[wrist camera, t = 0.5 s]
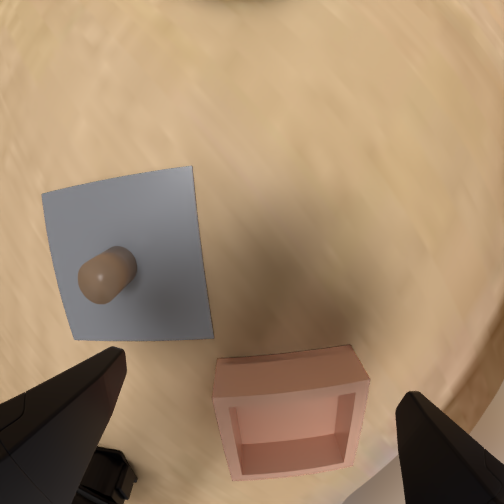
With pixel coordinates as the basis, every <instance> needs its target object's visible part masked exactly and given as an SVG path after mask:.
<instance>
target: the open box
mask: <svg viewBox="0 0 504 504" xmlns="http://www.w3.org/2000/svg"><path fill="white" fill-rule="evenodd" d="M369 385H370V378H369V376H368V374H367V372H366V371H365V369H364V367H363V365H362V364H361V362H360V360H359V359H358V357H357V355H356V354H355V352H354V350H353V348H352V347H351V345H344V346H338V347H331V348H324V349H317V350H309V351H301V352H292V353H283V354H273V355H262V356H251V357H237V358H220V359H217V365H216V372H215V379H214V386H213V394H212V400H213V405H214V409H215V414H216V418H217V423H218V427H219V431H220V435H221V440H222V444H223V448H224V452H225V456H226V460H227V463H228V467H229V471H230V475H231V479H232V481H245V480H262V479H275V478H284V477H293V476H301V475H308V474H314V473H321V472H326V471H332V470H337V469H342V468H347V467H351V466H353V463H354V459H355V455H356V451H357V447H358V442H359V438H360V433H361V429H362V424H363V419H364V414H365V408H366V403H367V397H368V391H369Z"/></svg>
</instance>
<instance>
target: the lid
mask: <svg viewBox="0 0 504 504" xmlns="http://www.w3.org/2000/svg"><path fill="white" fill-rule="evenodd" d="M42 202H43V210H44V217H45V223H46V230H47V235H48V241H49V246H50V252H51V256H52V261H53V266H54V270H55V275H56V279H57V283H58V287H59V291H60V294H61V298H62V302H63V305H64V309H65V312H66V316H67V319H68V322H69V325H70V328H71V332H72V335H73V338H74V340H92V341H166V340H194V339H213V338H214V333H213V327H212V321H211V314H210V308H209V301H208V294H207V287H206V280H205V272H204V265H203V257H202V249H201V241H200V233H199V225H198V216H197V207H196V197H195V188H194V178H193V167H192V166H186V167H178V168H171V169H164V170H158V171H151V172H145V173H139V174H133V175H128V176H122V177H117V178H111V179H106V180H101V181H96V182H91V183H86V184H82V185H77V186H73V187H68V188H64V189H60V190H55V191H51V192H47V193H43V194H42Z"/></svg>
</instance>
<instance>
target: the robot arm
mask: <svg viewBox="0 0 504 504" xmlns="http://www.w3.org/2000/svg"><path fill="white" fill-rule="evenodd" d="M126 373H127V366H126V356H125V351H124V350H123V349H120V348H117V347H114V346H112V347H109V348H107V349H105V350H104V351H102V352H100V353H98V354H96V355H94V356H92V357H90V358H89V359H87V360H85V361H83V362H81V363H79V364H77V365H75V366H74V367H72V368H70V369H68V370H66V371H64V372H62V373H60V374H58V375H56V376H55V377H53V378H51V379H49V380H47V381H45V382H43V383H41V384H39V385H37V386H35V387H34V388H32V389H30V390H28V391H26V393H25V392H24V393H22V394H20V395H18V396H16V397H14V398H12V399H10V400H8V401H6V402H3V403H1V404H0V504H124V501H125V500H128V499H129V497H130V493H131V490H132V487H133V483H134V482H135V483H136V482H137V480H138V479H137V477H136V476H135V474H134V473H133V471H132V469H131V468H130V466H129V464H128V463H127V461H126V459H125V458H124V456H123V454H122V453H121V452H119V451H115V450H109V449H103V448H97V445H98V443H99V441H100V439H101V437H102V434H103V432H104V430H105V428H106V426H107V424H108V422H109V420H110V418H111V416H112V413H113V410H114V408H115V405H116V402H117V399H118V396H119V393H120V390H121V388H122V385H123V382H124V379H125V377H126ZM395 415H396V427H397V441H398V453H399V459H400V466H401V472H402V478H403V486H404V494H405V502H406V504H504V464H503V463H501V462H500V461H499V460H497V459H496V458H495V457H494V456H493V455H491V454H490V453H489V452H488V451H487V450H486V449H484V448H483V447H482V446H481V445H480V444H479V443H478V442H477V441H475V440H474V439H473V438H472V437H471V436H470V435H469V434H467V433H466V432H465V431H464V430H463V429H462V428H461V427H459V426H458V425H457V424H456V423H455V422H454V421H452V420H451V419H450V418H449V417H448V416H447V415H446V414H444V413H443V412H442V411H441V410H440V409H439V408H438V407H436V406H435V405H434V404H433V403H432V402H431V401H429V400H428V399H427V398H426V397H425V396H424V395H423V394H421V393H420V392H419V391H409V392H407V393H406V394H405V396H404V397H403V399H402V400H401V402H400V403H399V405H398V406H397V408H396V413H395Z"/></svg>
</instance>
